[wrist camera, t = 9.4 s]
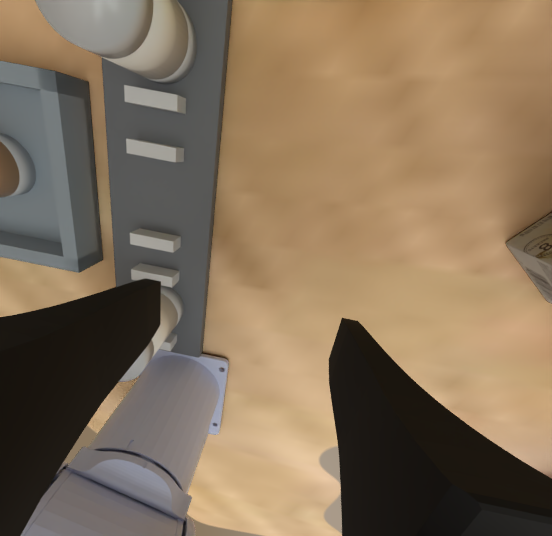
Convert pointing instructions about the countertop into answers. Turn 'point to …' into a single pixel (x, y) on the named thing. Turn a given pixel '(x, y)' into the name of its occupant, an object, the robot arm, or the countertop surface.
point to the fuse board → (169, 171)
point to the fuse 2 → (159, 330)
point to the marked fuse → (15, 168)
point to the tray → (50, 170)
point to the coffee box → (536, 254)
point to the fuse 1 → (129, 33)
